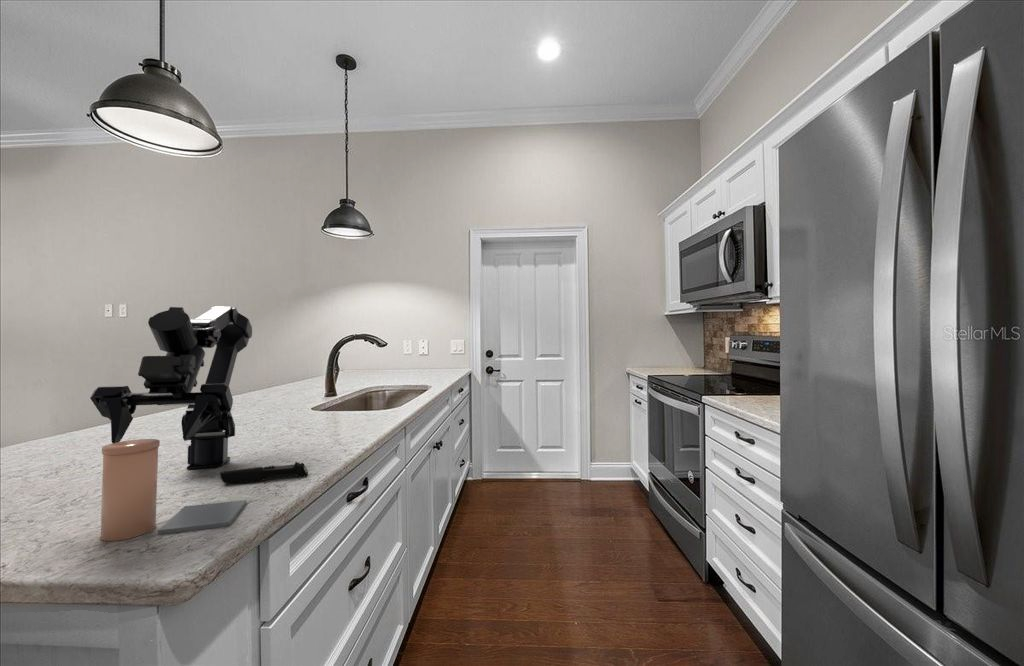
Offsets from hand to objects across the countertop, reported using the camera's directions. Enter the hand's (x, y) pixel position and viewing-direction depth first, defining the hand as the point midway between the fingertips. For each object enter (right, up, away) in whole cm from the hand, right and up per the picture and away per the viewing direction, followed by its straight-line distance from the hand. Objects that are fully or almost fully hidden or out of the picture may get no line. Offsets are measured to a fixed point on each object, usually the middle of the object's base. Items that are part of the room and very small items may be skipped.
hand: (150, 441), depth 66 cm
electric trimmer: (+9, -13, +17) cm, 23 cm away
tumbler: (+2, -12, -6) cm, 13 cm away
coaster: (+10, -12, -1) cm, 16 cm away
